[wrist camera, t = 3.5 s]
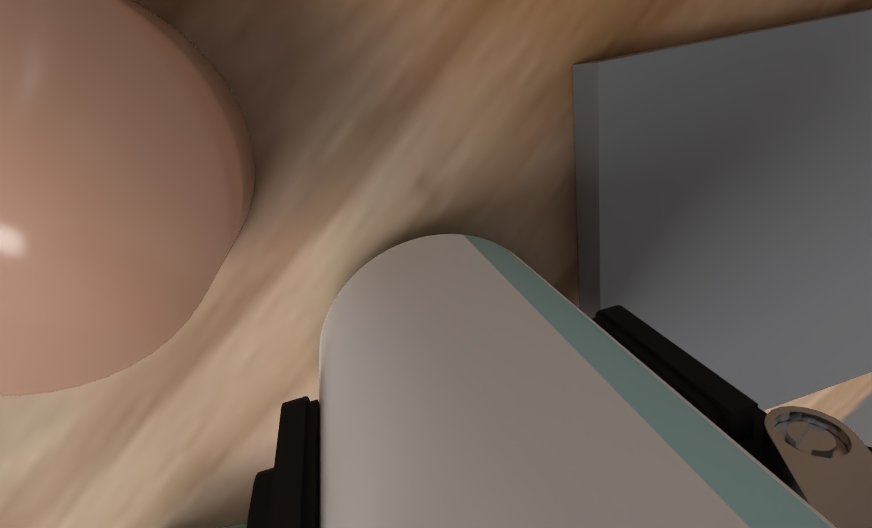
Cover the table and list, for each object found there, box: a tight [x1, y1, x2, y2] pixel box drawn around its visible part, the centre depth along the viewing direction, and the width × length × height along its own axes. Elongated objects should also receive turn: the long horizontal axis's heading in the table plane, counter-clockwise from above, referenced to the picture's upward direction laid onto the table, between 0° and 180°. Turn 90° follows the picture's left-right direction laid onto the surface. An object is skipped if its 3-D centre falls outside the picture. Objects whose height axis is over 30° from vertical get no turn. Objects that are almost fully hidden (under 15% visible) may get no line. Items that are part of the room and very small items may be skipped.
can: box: [319, 234, 837, 528], centre depth 8 cm, size 7×7×12 cm
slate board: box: [572, 8, 872, 411], centre depth 15 cm, size 14×14×1 cm
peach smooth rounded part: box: [0, 0, 255, 396], centre depth 8 cm, size 7×7×4 cm
